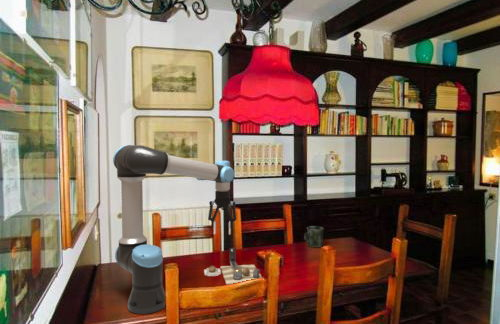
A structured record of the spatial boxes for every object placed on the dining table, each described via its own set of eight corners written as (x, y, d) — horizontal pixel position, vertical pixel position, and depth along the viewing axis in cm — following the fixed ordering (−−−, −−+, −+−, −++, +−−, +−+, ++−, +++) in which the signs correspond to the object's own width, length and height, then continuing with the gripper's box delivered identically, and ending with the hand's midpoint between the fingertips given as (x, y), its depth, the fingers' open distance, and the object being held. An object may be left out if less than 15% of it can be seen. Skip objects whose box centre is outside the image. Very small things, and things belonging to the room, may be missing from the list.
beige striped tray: (264, 283, 164) (264, 273, 164) (226, 286, 161) (226, 275, 161) (253, 267, 187) (253, 258, 187) (220, 269, 183) (220, 259, 183)
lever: (244, 279, 165) (244, 259, 165) (234, 279, 164) (234, 259, 164) (237, 265, 184) (237, 247, 184) (228, 266, 183) (228, 248, 183)
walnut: (249, 267, 169) (242, 266, 171) (247, 275, 168) (240, 273, 169) (251, 270, 172) (244, 268, 174) (249, 277, 170) (242, 275, 172)
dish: (221, 277, 172) (221, 273, 172) (204, 278, 170) (204, 274, 170) (219, 271, 180) (219, 267, 180) (203, 272, 178) (203, 268, 178)
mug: (327, 246, 228) (327, 228, 227) (310, 250, 220) (310, 231, 219) (315, 242, 237) (316, 225, 236) (299, 245, 229) (299, 227, 229)
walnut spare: (216, 274, 174) (216, 266, 173) (209, 274, 173) (209, 267, 173) (215, 271, 177) (215, 264, 177) (208, 271, 176) (208, 264, 176)
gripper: (242, 189, 184) (242, 232, 185) (205, 188, 185) (204, 231, 186) (241, 191, 176) (240, 236, 177) (202, 190, 178) (201, 235, 179)
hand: (222, 233), depth 182 cm, fingers open, 7 cm apart
